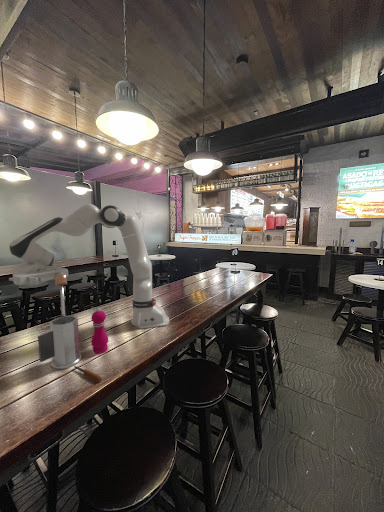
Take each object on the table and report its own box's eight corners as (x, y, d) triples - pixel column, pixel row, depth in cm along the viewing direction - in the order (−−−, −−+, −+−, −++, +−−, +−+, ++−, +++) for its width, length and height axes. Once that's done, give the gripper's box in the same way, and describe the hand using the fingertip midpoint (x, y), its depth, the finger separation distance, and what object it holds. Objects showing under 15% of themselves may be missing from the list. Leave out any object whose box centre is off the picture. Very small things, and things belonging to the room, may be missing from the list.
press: (85, 353, 96) (83, 314, 94) (70, 373, 83) (67, 328, 80) (59, 354, 95) (56, 315, 93) (39, 374, 82) (35, 329, 80)
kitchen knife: (101, 381, 79) (101, 376, 78) (98, 383, 77) (98, 378, 77) (75, 368, 86) (75, 363, 86) (72, 370, 85) (72, 365, 85)
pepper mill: (95, 346, 102) (93, 305, 100) (110, 345, 103) (108, 305, 100) (89, 354, 95) (86, 311, 93) (105, 354, 96) (104, 310, 93)
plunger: (75, 333, 92) (72, 273, 89) (68, 340, 86) (64, 276, 83) (61, 333, 92) (57, 273, 89) (53, 340, 86) (48, 276, 83)
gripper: (6, 271, 88) (21, 275, 81) (58, 264, 106) (74, 267, 98) (7, 286, 89) (22, 291, 82) (59, 277, 106) (75, 280, 99)
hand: (51, 277), depth 90 cm, fingers open, 8 cm apart
